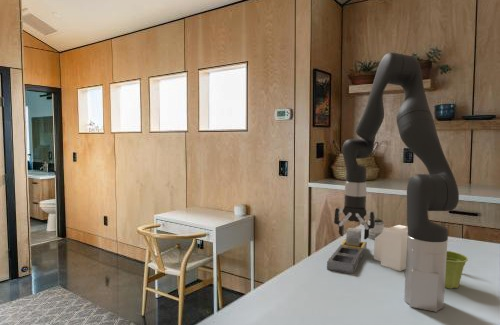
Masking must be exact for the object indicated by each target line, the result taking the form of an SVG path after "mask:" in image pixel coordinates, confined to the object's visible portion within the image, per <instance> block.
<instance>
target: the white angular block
mask: <svg viewBox="0 0 500 325" xmlns="http://www.w3.org/2000/svg"><path fill="white" fill-rule="evenodd" d="M407 235H408V227H407V225H401V224H396V225H394V226H390V227H387V228H384V229H383V230H382V233H381V234H380V235H378V236H377V237H376V238H375V240H374V248H373V259H374V260H376V261H379V262H380V266H381V267H382V266H383V267H386V268H389V269H393V270H395V271H399V272H401V271H403V270H406V253H407Z"/></svg>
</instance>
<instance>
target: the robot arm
mask: <svg viewBox="0 0 500 325" xmlns="http://www.w3.org/2000/svg"><path fill="white" fill-rule="evenodd" d="M388 84H390V85H394V86H400V87H401V88H402V89H403V93H404V97H405V98H404V100H403V102H402V104H401V105H400V107H399V109H398V111H397V115H396V125H397V129H398V133H399V136H400V139H401V141H402V142H403V144H404V146H406V147H407V148H408V149H409V150H410V152H412V153H413V154H414V155H415V156H416V157H417V158H418V159H419V160H420V161H421V162H422V163H423V165H424V166H425V167H426V169H427V172H428V173H425V174H423V173H422V174H421V173H419V174H418V173H416V174H412V175H411V176H410V177H409V180H408V182H407V186H406V226H407V227H408V235H407V253H406V269H405V275H404V298H403V299H404V302H406V303H407V304H408V305H409V307H411V308H415V309H421V310H425V311H431V312H435V313H437V312H438V311H439V310H442V309H443V308H444V307H445V306H444V305H445V289H446V287H445V274H446V258H447V251H448V241H449V240H448V239H449V238H448V237H449V231H448V228H447V227H446V226H444V225H442V224H439V223H437V222H434V221H432V220H431V219H429V212H450V211H454V210H455V209H456V208H457V207H458V205H459V199H460V194H459V192H460V191H459V188H458V184H457V180H456V178H455V176H454V174H453V172H452V169H451V167H450V165H449V162H448V160H447V158H446V155H445V154H444V150H443V148H442V145H441V142H440V141H441V140H440V138H439V135H438V133H437V129H436V123H435V121H434V118H433V115H432V111H431V108H430V106H429V102H428V99H427V96H426V91H425V86H424V81H423V75H422V69H421V65H420V61H419V60H418V59H417V58H416V57H414V56H413V55H412V56H411V55H408V54H402V53H398V52H388V53H386V54H384V56H383V57H382V58H381V60H380V62H379V64H378V67H377V69H376V72H375V76H374V79H373V83H372V86H371V89H370V92H369V96H368V99H367V103H366V105H365V108H364V110H363V113H362V115H361V117H360V119H359V121H358V124H357V126H356V128H355V133H356V135H357V136H358V137H359V139H357V138H355V139H354V138H350V139H346V140H345V141H344V143H343V145H342V149H341V152H342V153H341V154H342V157H343V161H344V166H345V171H346V173H345V175H346V176H345V186H344V205H343V208H341V207H339V206H337V207H336V208H335V209H334V210H335V211H334V220H333V221H334V222H333V223H334V225H338V234H339V235H340V237H344V233H345V232H344V230H345V228H344V227H345V226H344V224H345V223H346V222H347V221H349V222H356V223H359V222H360V224H361V225H362V226H363V227H364V231H363V232H364V236H363V240H367V239H369V238H368V237H369V229H371V228H372V229H373V228H374V227H375V219H376V217H375V215H376V213H375V210H372V211H371V210H370V211H369V210H367V209H366V205H367V168H366V167H365V166H364V165H360V164H359V163H358V161H357V159H358V160H359V159H364V160H365V159H367V158H369V157H370V156H371V155H372V153H373V151H374V145H375V142H376V135H377V133H378V131H379V130H380V129H381V126H382V124H383V122H384V118H385V107H384V92H385V89H386V88H387V85H388ZM360 138H361V139H360ZM342 213H343V214H344V216H345V217H344V218H343V219H342V220H341V221H340V215H341V214H342ZM366 216H368V218H369V219H370V225H369V224H368V220H366V218H365V217H366Z"/></svg>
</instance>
